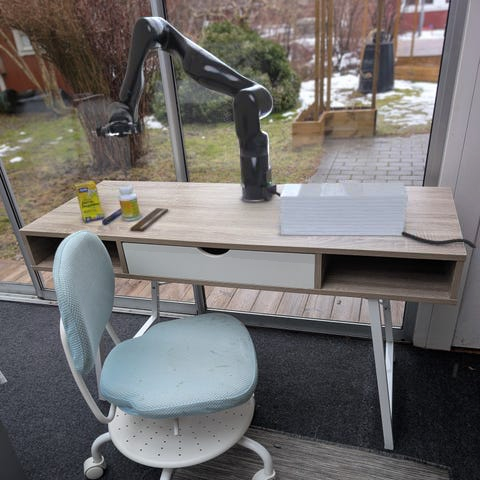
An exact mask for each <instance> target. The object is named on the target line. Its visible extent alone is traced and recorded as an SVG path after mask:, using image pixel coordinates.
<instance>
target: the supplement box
mask: <svg viewBox="0 0 480 480" xmlns="http://www.w3.org/2000/svg"><path fill="white" fill-rule="evenodd" d="M73 186H74V190H75V194H76V197H77V201H78V205H79V210H80V214H81V217H82V219H83V221H84V222H85V223H89V222H94V221H98V220H104V219H105V217H104V214H103V213H104V212H103V209H102V204H101V200H100V196H99V192H98V187H97V184H96V183H95V182H94V180H89V181H83V182H79V183H74V184H73Z"/></svg>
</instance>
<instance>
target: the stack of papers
mask: <svg viewBox="0 0 480 480" xmlns="http://www.w3.org/2000/svg"><path fill="white" fill-rule="evenodd" d="M280 194H281V195H280V197H279V218H280V220H279V221H280V223H279V224H280V235H281V236H396V237H397V236H403V237H404V235H402V234H401V233H402V232H405V231H404V228H405V221H406V213H407V206H408V198H409V195H408V192H407V188H406V186H405V183H404V182H403V181H401V182H399V181H398V182H394V181H393V182H389V181H388V182H336V183H335V182H333V183H332V182H327V183H326V182H323V183H322V182H319V183H316V182H315V183H314V182H313V183H283V185H282V189H281V191H280Z"/></svg>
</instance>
